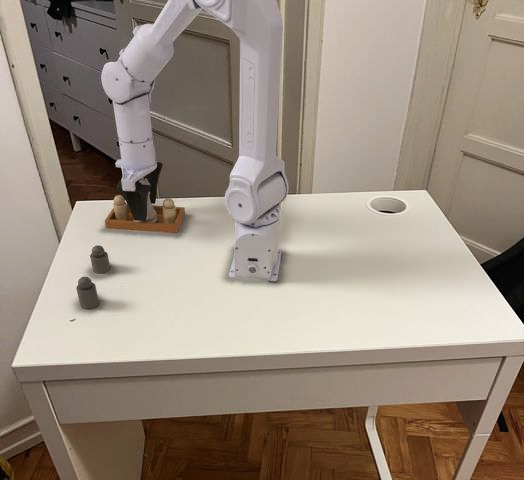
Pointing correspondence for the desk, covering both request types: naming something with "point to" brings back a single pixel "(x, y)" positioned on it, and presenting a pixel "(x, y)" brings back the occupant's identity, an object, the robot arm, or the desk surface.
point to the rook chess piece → (149, 206)
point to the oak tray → (146, 226)
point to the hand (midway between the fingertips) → (145, 211)
